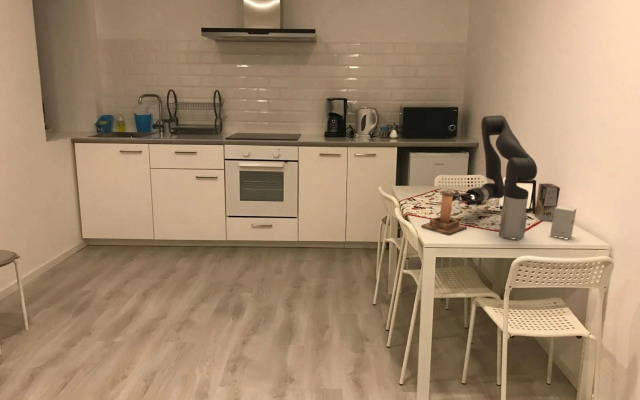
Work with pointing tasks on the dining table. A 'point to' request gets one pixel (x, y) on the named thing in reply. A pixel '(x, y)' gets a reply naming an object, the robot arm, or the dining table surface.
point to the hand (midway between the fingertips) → (458, 201)
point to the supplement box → (563, 221)
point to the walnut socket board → (444, 226)
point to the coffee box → (546, 201)
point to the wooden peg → (446, 207)
